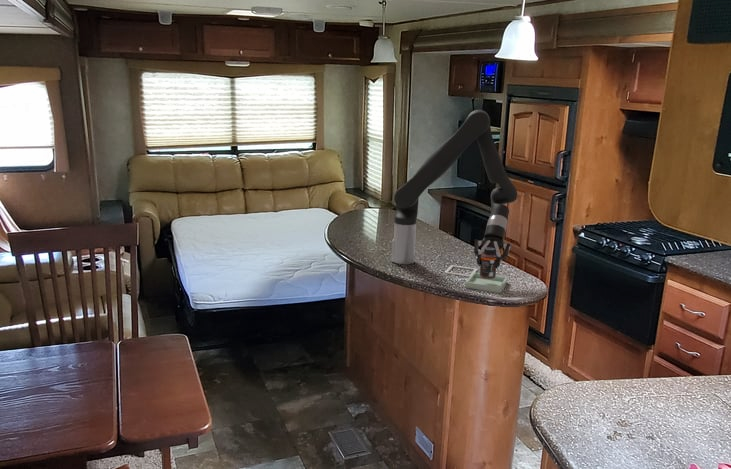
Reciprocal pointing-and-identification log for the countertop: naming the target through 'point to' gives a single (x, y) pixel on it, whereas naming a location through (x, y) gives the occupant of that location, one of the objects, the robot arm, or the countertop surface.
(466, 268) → the mat frame
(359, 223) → the countertop surface
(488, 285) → the tray
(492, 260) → the supplement bottle
